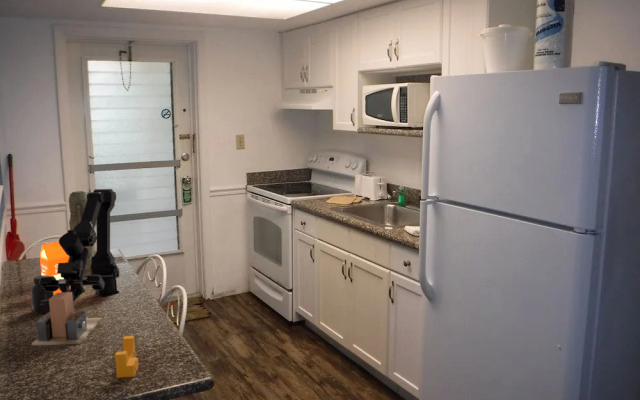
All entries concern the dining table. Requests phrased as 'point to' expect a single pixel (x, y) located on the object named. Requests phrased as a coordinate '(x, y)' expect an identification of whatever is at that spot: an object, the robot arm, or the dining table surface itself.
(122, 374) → the orange stepped block
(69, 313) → the peg post
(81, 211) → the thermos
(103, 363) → the dining table surface
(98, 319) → the base board
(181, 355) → the dining table surface
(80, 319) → the band block
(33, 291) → the supplement bottle
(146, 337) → the dining table surface
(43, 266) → the orange juice
